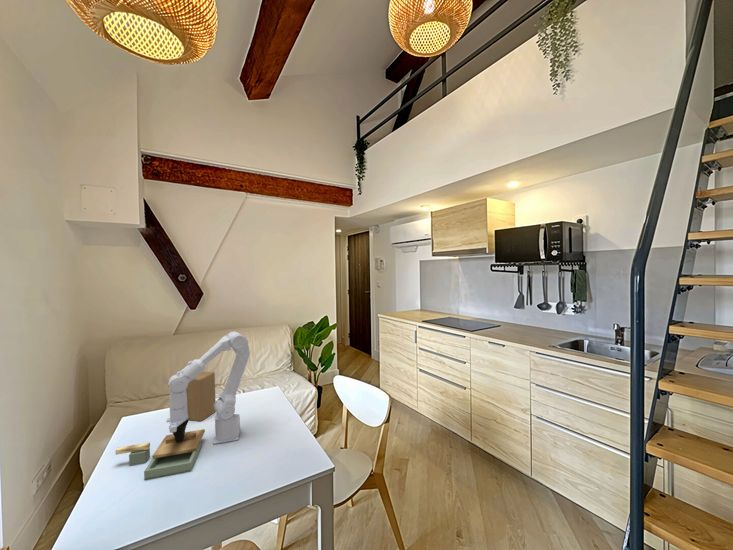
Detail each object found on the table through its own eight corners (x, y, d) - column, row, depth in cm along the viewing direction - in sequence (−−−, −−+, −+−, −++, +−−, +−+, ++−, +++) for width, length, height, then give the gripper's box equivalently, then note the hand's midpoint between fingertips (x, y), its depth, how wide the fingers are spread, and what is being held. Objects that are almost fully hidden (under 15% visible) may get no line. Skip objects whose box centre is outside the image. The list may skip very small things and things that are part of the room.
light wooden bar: (150, 446, 112) (150, 442, 112) (147, 449, 110) (147, 445, 110) (118, 451, 109) (118, 447, 109) (115, 454, 107) (115, 450, 107)
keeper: (150, 456, 113) (149, 446, 113) (145, 462, 109) (145, 452, 109) (134, 459, 111) (134, 448, 111) (129, 465, 107) (129, 455, 107)
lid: (204, 431, 124) (204, 425, 124) (196, 450, 110) (195, 444, 110) (166, 437, 120) (166, 431, 120) (152, 458, 106) (152, 451, 106)
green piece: (201, 448, 117) (200, 440, 117) (191, 471, 104) (190, 462, 104) (160, 455, 113) (159, 447, 113) (144, 480, 100) (144, 471, 100)
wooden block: (199, 410, 150) (197, 370, 149) (216, 411, 148) (215, 371, 148) (183, 420, 140) (181, 378, 140) (201, 421, 138) (200, 379, 138)
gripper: (172, 400, 120) (174, 433, 120) (159, 417, 106) (160, 454, 106) (192, 397, 122) (193, 430, 122) (181, 413, 108) (183, 450, 108)
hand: (179, 441), depth 114 cm, fingers closed
